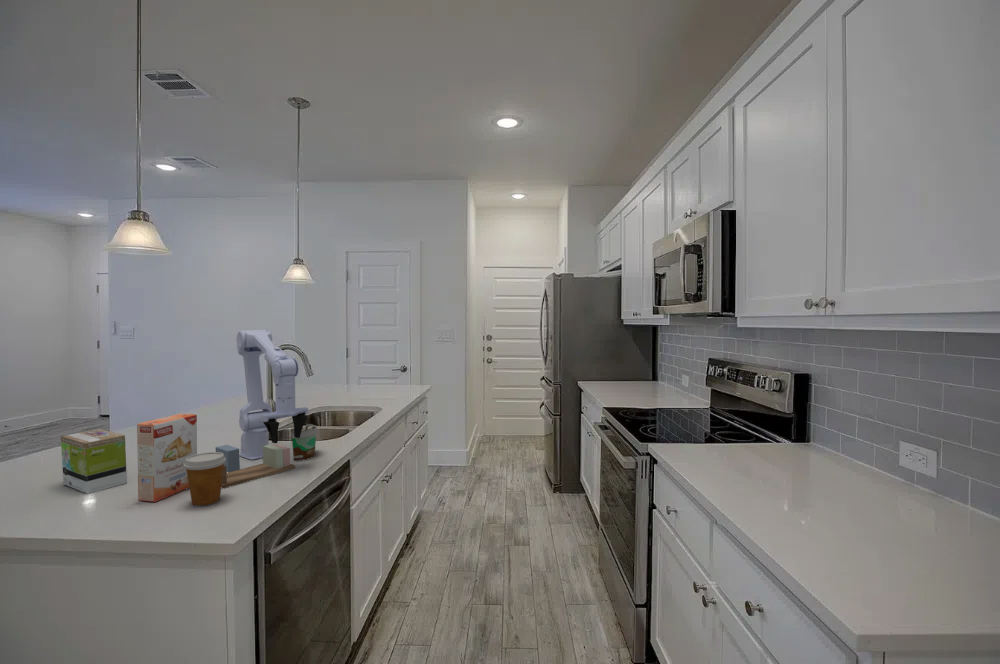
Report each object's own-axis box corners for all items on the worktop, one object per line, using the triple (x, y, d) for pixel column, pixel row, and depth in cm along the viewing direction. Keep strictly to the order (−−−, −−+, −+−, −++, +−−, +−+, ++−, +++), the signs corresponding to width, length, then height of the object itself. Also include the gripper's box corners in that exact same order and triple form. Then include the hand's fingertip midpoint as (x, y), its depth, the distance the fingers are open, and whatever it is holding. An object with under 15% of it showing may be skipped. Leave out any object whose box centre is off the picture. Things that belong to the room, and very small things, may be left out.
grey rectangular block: (216, 468, 154) (215, 447, 154) (227, 465, 157) (226, 444, 157) (228, 473, 150) (227, 451, 149) (239, 470, 153) (239, 448, 152)
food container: (309, 461, 161) (309, 432, 161) (291, 461, 161) (291, 432, 161) (324, 451, 173) (323, 423, 173) (307, 451, 173) (306, 423, 173)
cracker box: (156, 503, 126) (153, 424, 125) (137, 501, 127) (134, 423, 127) (199, 484, 140) (197, 413, 139) (182, 483, 141) (180, 412, 140)
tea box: (61, 485, 139) (59, 435, 138) (102, 475, 148) (101, 427, 147) (86, 495, 132) (84, 441, 131) (128, 483, 141) (126, 433, 140)
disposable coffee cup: (235, 496, 131) (234, 453, 130) (204, 510, 121) (203, 463, 121) (207, 493, 133) (206, 450, 133) (175, 506, 124) (174, 460, 124)
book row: (263, 464, 155) (262, 446, 155) (276, 460, 159) (276, 442, 159) (276, 469, 151) (276, 450, 150) (290, 465, 154) (289, 446, 154)
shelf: (206, 481, 142) (206, 461, 142) (277, 462, 160) (277, 444, 160) (223, 488, 137) (222, 467, 136) (294, 468, 154) (294, 449, 154)
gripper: (270, 402, 143) (270, 447, 143) (313, 395, 155) (314, 437, 155) (257, 399, 147) (258, 443, 148) (300, 393, 159) (301, 433, 159)
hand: (286, 440), depth 152 cm, fingers open, 7 cm apart
